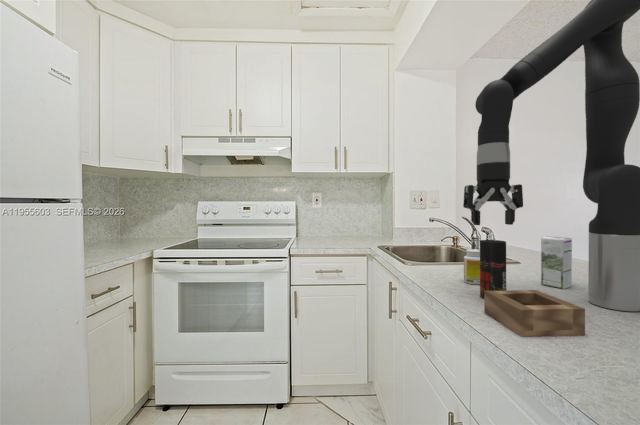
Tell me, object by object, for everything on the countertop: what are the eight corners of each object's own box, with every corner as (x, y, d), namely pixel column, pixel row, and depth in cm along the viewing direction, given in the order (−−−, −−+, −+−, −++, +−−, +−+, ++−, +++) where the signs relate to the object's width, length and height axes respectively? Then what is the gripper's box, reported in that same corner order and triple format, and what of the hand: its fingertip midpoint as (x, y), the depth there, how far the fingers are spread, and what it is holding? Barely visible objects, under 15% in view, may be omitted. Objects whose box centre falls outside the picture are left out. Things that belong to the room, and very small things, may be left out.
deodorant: (482, 293, 81) (482, 239, 80) (507, 297, 77) (507, 240, 76) (477, 298, 76) (477, 241, 76) (504, 303, 72) (504, 243, 72)
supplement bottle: (487, 284, 89) (487, 251, 88) (470, 285, 88) (469, 252, 88) (477, 280, 94) (477, 248, 94) (460, 280, 94) (460, 249, 94)
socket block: (536, 311, 66) (536, 289, 66) (585, 335, 54) (585, 308, 54) (484, 312, 66) (484, 290, 66) (521, 336, 54) (521, 309, 54)
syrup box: (572, 286, 85) (572, 237, 85) (563, 289, 83) (563, 238, 82) (549, 282, 90) (549, 235, 90) (540, 284, 88) (540, 237, 87)
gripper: (510, 164, 79) (510, 223, 80) (458, 164, 79) (458, 224, 80) (530, 160, 72) (530, 225, 72) (473, 160, 72) (473, 226, 72)
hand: (492, 224), depth 76 cm, fingers open, 8 cm apart
